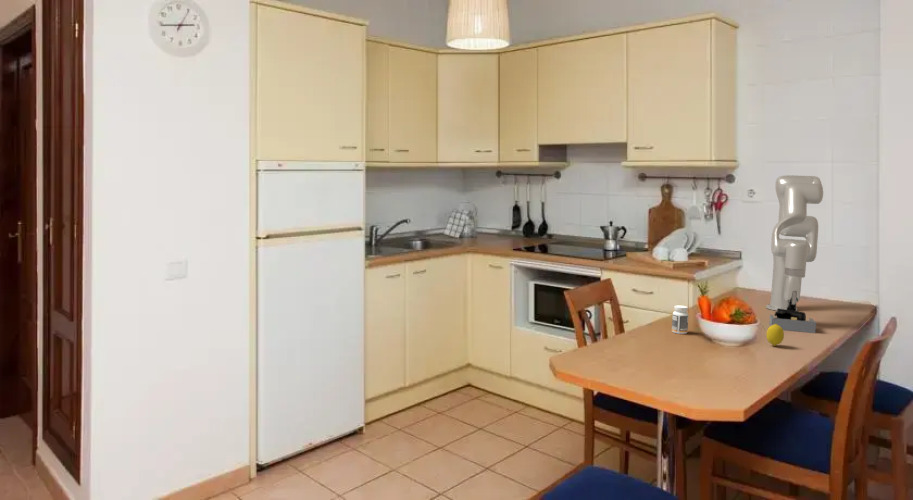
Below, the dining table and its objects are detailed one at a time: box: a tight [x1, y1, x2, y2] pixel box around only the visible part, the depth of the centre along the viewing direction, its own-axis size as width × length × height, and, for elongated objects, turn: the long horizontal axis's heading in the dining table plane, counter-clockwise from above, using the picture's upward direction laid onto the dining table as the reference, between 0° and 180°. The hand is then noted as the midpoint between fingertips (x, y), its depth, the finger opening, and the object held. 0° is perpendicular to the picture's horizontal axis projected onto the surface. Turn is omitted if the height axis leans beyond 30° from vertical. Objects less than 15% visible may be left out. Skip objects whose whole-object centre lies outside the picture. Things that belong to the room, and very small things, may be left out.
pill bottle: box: [671, 304, 689, 335], centre depth 256 cm, size 6×6×10 cm
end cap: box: [773, 309, 807, 321], centre depth 270 cm, size 10×7×7 cm
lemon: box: [765, 324, 785, 347], centre depth 239 cm, size 6×6×8 cm
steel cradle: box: [769, 314, 817, 334], centre depth 269 cm, size 10×15×5 cm, turn 70°
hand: (790, 317), depth 275 cm, fingers closed
